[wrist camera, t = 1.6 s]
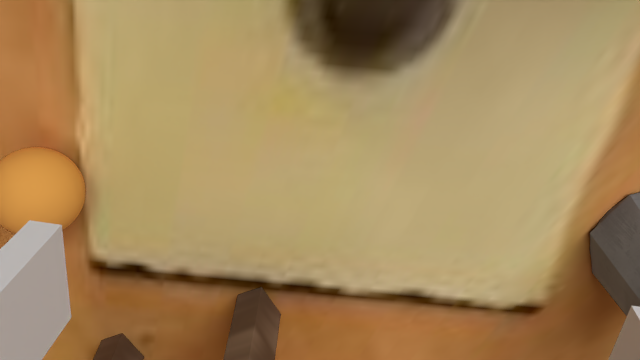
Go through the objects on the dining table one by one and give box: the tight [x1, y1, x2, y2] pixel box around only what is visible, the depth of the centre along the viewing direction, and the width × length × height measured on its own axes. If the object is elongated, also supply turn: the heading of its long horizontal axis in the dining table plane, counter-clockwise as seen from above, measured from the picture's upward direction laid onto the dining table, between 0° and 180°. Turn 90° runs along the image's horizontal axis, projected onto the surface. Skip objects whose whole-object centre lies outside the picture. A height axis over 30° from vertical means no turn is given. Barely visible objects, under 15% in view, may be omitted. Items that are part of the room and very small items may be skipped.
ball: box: [0, 147, 86, 234], centre depth 37 cm, size 6×6×6 cm
